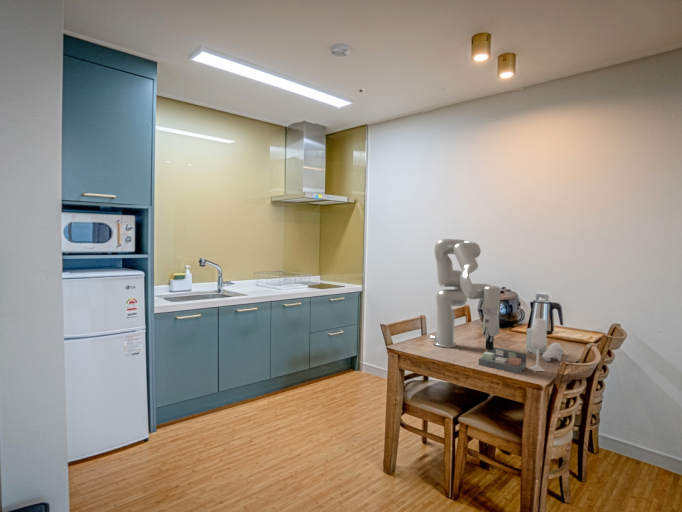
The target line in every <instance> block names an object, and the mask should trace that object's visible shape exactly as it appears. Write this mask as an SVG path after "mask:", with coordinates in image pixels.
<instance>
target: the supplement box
mask: <svg viewBox="0 0 682 512" xmlns="http://www.w3.org/2000/svg"><path fill="white" fill-rule="evenodd" d="M532 330H533V327H530V328H526V340H525V352H528V351H529V353H531V352H532V354H534V353H535V355H537V349H536V348H535V347H534V346H533V345H532V343H531V337H532ZM547 335H548V330H547V329H546V338H547V337H548V336H547ZM546 350H547V345H546V346H545V347H543V348H542V349H540V353H541V354H544V353H545V352H546ZM540 353H539V355H540Z"/></svg>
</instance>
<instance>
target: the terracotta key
mask: <svg viewBox="0 0 682 512" xmlns="http://www.w3.org/2000/svg"><path fill="white" fill-rule="evenodd" d="M508 364H510V365H515V366H519V365H521V359H519V358H515V357H510V358H509V359H508Z"/></svg>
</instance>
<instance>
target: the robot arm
mask: <svg viewBox="0 0 682 512" xmlns="http://www.w3.org/2000/svg"><path fill="white" fill-rule="evenodd" d="M481 252H482V251H481V248H480V246H479V244H478V243H477V242H473V241H471V240H465V239H457V238H443V239H440V240H438V241H437V242H436V243H435V245H434V255H435V259H436V269H437V270H436V272H437V282H438V285H439V286H440V287H443V288H445V289H440V290H439V291H437V293H436V295H435V296H436V297H435V298H436V308H437V314H436V315H437V317H436V335H433V334H430V336H429V337H430V340H433V345H434V346H436V347H439V348H448V349H449V348H451V349H452V348H456V347H457V343H456V342H454V339H455V319H456V318H455V311H454V310H453V308H452V307H461V306H465V304H466V303H467V299H469V300H483V301H482V302H483V303H482V315H483V320H482V335H483V336H484V339H485V350H487V349H488V350H493V347H494V344H495V343H494V341H495V337H496V336H497V335H499V333H500V319H499V318H500V306H501V305H500V304H501V288H500V287H499V286H497V285H491V284H488V283H472V281H471V278H470V274H471V273H473V272H475V271H476V270H477V269H479V263H478V262H477V258H478V257H480V255H481ZM449 255H455V258H456V260H457V262H458V264H459V267H460V269H461V270H459V269H458V270H457V269H454V268H453V261H452V258H450V256H449ZM446 288H448V289H446ZM451 288H453V289H451Z"/></svg>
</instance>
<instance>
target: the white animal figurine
mask: <svg viewBox="0 0 682 512" xmlns="http://www.w3.org/2000/svg"><path fill="white" fill-rule="evenodd" d="M563 354H564V349H563V346H562V345H561V344H560V343H558V342H553V343H551V344H549V346H548V347H547V348H546V352H545V353H542V356H541V357H542V359H543V360H544V362H551V361H552V359H550V358H553V359H556V360H557V361H558V362H561V359H562V356H563Z"/></svg>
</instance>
